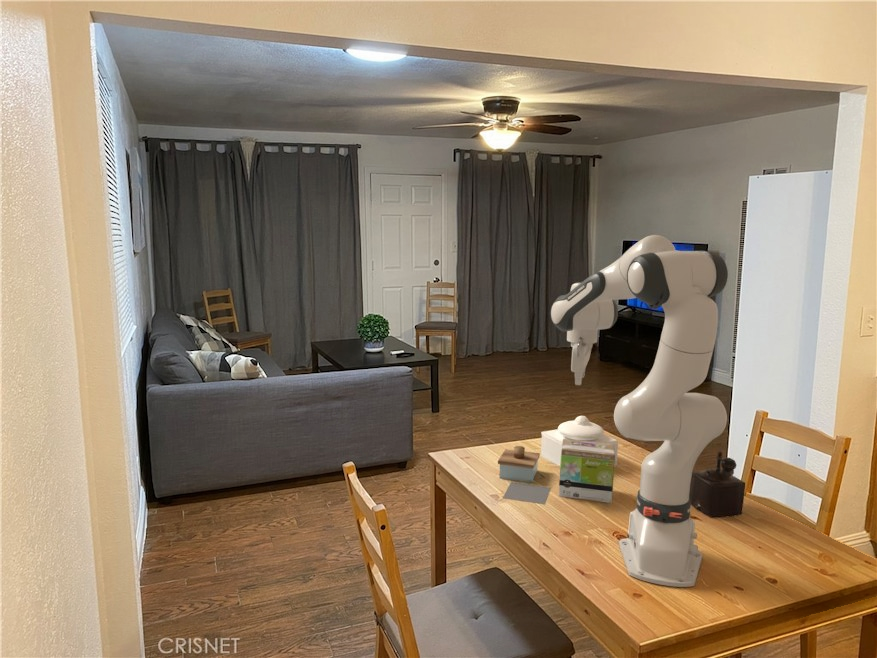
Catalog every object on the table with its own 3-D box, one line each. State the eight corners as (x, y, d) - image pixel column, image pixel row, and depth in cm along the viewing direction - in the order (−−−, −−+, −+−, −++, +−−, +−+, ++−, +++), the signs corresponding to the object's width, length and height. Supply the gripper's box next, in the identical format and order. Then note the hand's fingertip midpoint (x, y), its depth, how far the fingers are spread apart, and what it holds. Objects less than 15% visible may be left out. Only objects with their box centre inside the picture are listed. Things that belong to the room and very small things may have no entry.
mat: (544, 505, 175) (544, 504, 175) (502, 499, 179) (502, 498, 179) (550, 488, 186) (550, 487, 186) (510, 483, 190) (510, 482, 190)
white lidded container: (574, 475, 197) (576, 427, 194) (539, 457, 213) (541, 411, 210) (616, 466, 205) (619, 419, 202) (580, 449, 221) (582, 405, 218)
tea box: (558, 498, 180) (560, 448, 178) (559, 484, 190) (562, 437, 187) (612, 504, 177) (615, 453, 174) (611, 489, 186) (614, 442, 184)
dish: (531, 483, 190) (532, 467, 189) (499, 479, 193) (499, 463, 192) (537, 471, 199) (537, 456, 199) (506, 467, 202) (506, 452, 202)
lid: (533, 468, 188) (534, 456, 188) (497, 464, 192) (498, 451, 191) (539, 456, 199) (540, 444, 198) (505, 452, 202) (505, 440, 202)
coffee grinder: (684, 502, 178) (689, 441, 175) (717, 498, 181) (723, 439, 178) (720, 527, 163) (727, 461, 161) (757, 523, 166) (763, 458, 163)
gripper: (590, 342, 176) (587, 390, 178) (595, 331, 195) (593, 374, 197) (567, 340, 178) (564, 388, 180) (574, 329, 197) (572, 372, 199)
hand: (579, 380), depth 189 cm, fingers open, 8 cm apart
